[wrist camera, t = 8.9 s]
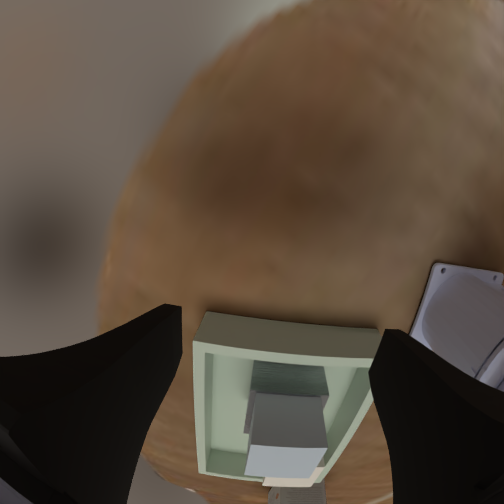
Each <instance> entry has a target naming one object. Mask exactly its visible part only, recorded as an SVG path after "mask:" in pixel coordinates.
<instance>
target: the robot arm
mask: <svg viewBox="0 0 504 504" xmlns="http://www.w3.org/2000/svg"><path fill="white" fill-rule="evenodd" d="M442 268H443V271H442V272H441V269H442ZM503 278H504V275H503V274H502V273H501V272H495V271H489V270H483V269H477V268H470V267H464V266H458V265H451V264H445V263H435V264H434V265H433V267H432V270H431V273H430V277H429V280H428V283H427V287H426V290H425V293H424V296H423V299H422V302H421V305H420V308H419V311H418V313H417V316H416V319H415V321H414V324H413V327H412V329H411V332H410V334H409V335H408V334H407V333H405V332H403V331H401V330H399V329H385V331H384V334H383V336H382V339H381V342H380V344H379V347H378V349H377V352H376V354H375V357H374V359H373V362H372V364H371V367H370V369H369V371H368V375H369V381H370V387H371V392H372V396H373V400H374V403H375V406H376V409H377V412H378V415H379V418H380V422H381V425H382V428H383V431H384V434H385V438H386V441H387V445H388V449H389V455H390V462H391V469H392V481H393V504H504V286H502V282H503ZM432 350H433V351H434V352H433V351H432ZM182 353H183V352H182V306H176V305H170V304H163V305H160V306H158V307H156V308H154V309H152V310H151V311H149V312H147V313H145V314H143V315H141V316H139V317H137V318H135V319H133V320H131V321H130V322H128V323H126V324H124V325H122V326H119V327H117V328H115V329H113V330H111V331H108V332H106V333H104V334H102V335H100V336H97V337H95V338H92V339H90V340H87V341H84V342H81V343H78V344H75V345H72V346H68V347H65V348H60V349H56V350H52V351H47V352H43V353H37V354H30V355H22V356H10V357H0V504H127V499H128V495H129V491H130V487H131V483H132V479H133V475H134V472H135V468H136V465H137V462H138V458H139V455H140V452H141V449H142V446H143V443H144V440H145V437H146V435H147V432H148V429H149V427H150V425H151V423H152V420H153V419H154V417H155V415H156V413H157V411H158V409H159V407H160V405H161V403H162V401H163V399H164V397H165V395H166V393H167V391H168V389H169V387H170V385H171V383H172V381H173V379H174V377H175V374H176V371H177V368H178V366H179V363H180V359H181V356H182Z"/></svg>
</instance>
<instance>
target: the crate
mask: <svg viewBox="0 0 504 504" xmlns="http://www.w3.org/2000/svg"><path fill="white" fill-rule="evenodd" d="M381 339H382V336H381V335H380V333H379V331H378V329H368V328H352V327H338V326H325V325H314V324H303V323H293V322H284V321H275V320H267V319H259V318H251V317H243V316H236V315H229V314H222V313H216V312H209V311H206V313H205V315H204V317H203V320H202V322H201V324H200V326H199V328H198V331H197V333H196V335H195V337H194V339H193V380H194V408H195V428H196V443H197V457H198V469H199V473H202V474H207V475H213V476H219V477H225V478H232V479H240V480H249V481H260V482H263V477H260V476H249V475H244V472H245V464H246V456H247V448H248V440H249V434H244V433H243V431H244V424H245V417H246V409H247V402H248V395H249V388H250V382H251V375H252V368H253V362H254V360H260V361H269V362H278V363H289V364H300V365H314V366H324V370H325V375H326V380H327V385H328V391H329V398H328V400H327V403H326V405H325V407H324V410H323V415H324V422H325V429H326V436H327V444H328V449H327V450H326V452H325V454H324V464H325V468H324V469H323V471H322V472H321V473H320V475H319V476H318V478H317V479H316V480H315V482H314V483H320V482H321V481H322V480H323V479H324V477H325V476H326V475H327V473H328V472H329V470H330V469H331V468H332V466H333V465H334V463H335V462H336V461H337V459H338V458H339V456H340V455H341V453H342V452H343V450H344V449H345V447H346V446H347V444H348V443H349V441H350V439H351V438H352V436H353V435H354V433H355V431H356V430H357V428H358V426H359V425H360V423H361V421H362V420H363V418H364V416H365V414H366V413H367V411H368V409H369V407H370V405H371V403H372V402H373V396H372V392H371V387H370V381H369V375H368V371H369V369H370V367H371V364H372V362H373V359H374V357H375V354H376V352H377V349H378V347H379V344H380V342H381Z"/></svg>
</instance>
